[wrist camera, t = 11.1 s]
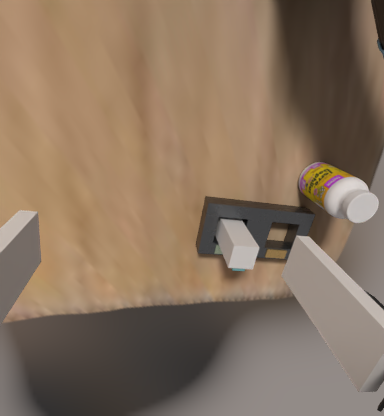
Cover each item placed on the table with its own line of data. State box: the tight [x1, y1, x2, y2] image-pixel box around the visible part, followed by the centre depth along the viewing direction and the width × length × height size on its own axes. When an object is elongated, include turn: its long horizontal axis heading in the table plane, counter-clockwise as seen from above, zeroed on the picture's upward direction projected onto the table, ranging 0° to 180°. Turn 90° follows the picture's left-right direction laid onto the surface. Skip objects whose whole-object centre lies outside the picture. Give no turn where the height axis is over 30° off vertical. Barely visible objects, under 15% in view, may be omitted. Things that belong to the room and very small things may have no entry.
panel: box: [196, 196, 315, 260], centre depth 50 cm, size 10×20×3 cm, turn 80°
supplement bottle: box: [298, 162, 379, 223], centre depth 43 cm, size 7×7×13 cm
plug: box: [215, 217, 259, 271], centre depth 46 cm, size 5×4×11 cm
